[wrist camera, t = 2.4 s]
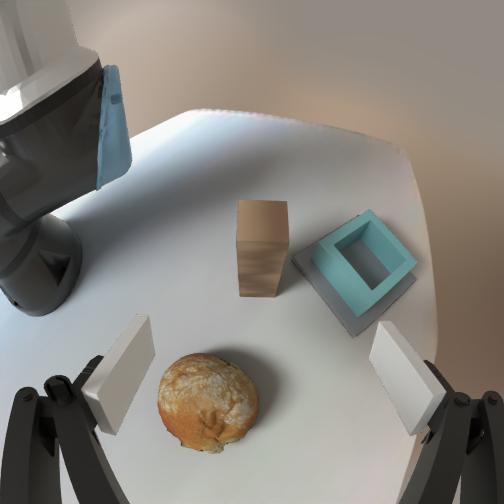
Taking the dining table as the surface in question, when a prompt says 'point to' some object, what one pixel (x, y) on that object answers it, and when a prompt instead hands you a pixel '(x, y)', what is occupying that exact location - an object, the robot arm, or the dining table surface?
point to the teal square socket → (358, 270)
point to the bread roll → (207, 402)
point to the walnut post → (261, 246)
